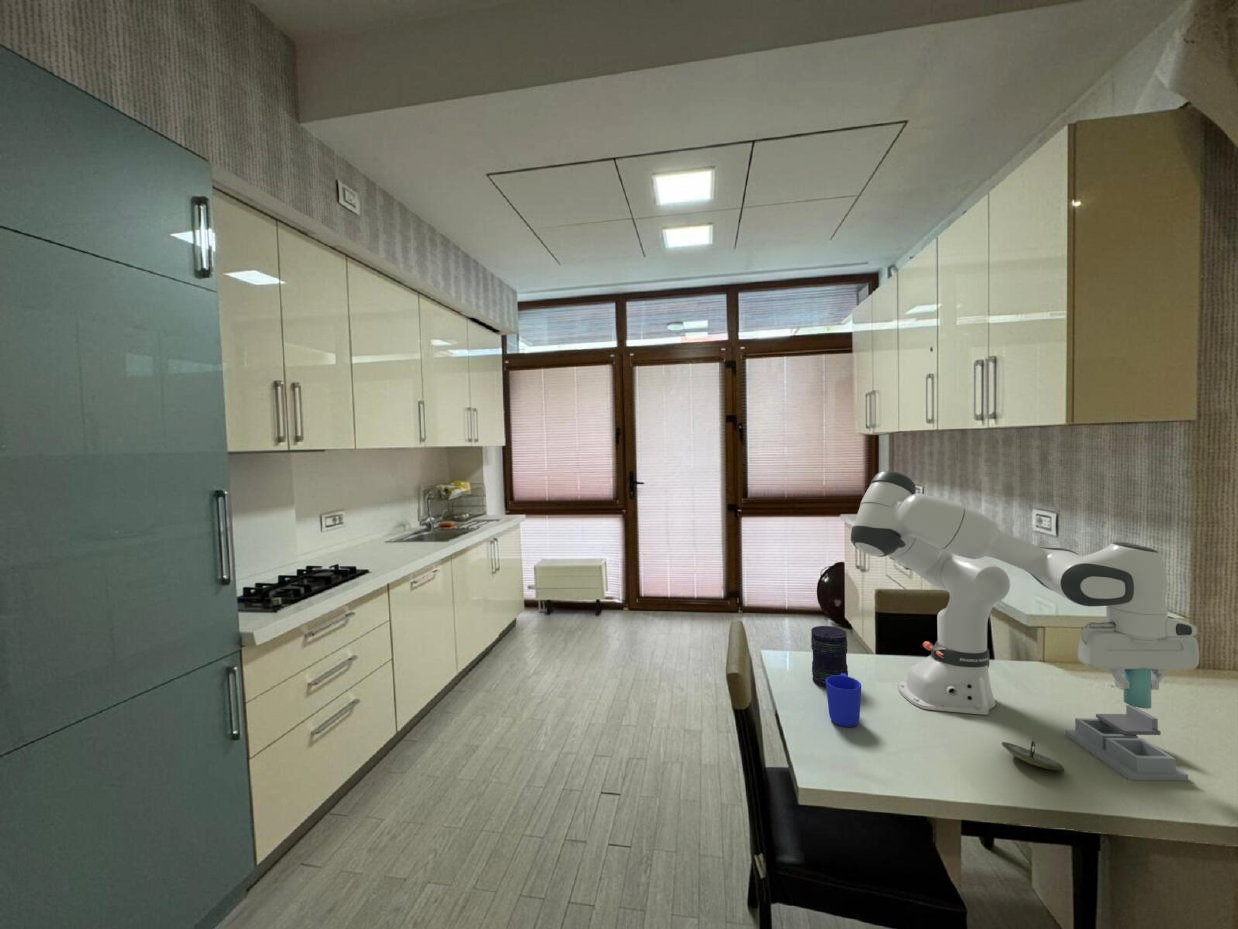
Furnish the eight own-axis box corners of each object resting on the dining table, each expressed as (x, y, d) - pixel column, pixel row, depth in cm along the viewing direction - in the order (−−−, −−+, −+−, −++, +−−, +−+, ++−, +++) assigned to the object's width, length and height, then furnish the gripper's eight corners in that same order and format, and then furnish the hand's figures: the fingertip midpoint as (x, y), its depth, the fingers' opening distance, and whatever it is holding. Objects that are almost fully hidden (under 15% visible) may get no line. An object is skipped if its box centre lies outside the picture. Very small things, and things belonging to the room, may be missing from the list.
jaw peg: (1135, 708, 102) (1135, 669, 102) (1118, 698, 106) (1117, 661, 106) (1157, 708, 102) (1156, 669, 102) (1139, 699, 106) (1138, 661, 106)
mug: (861, 709, 132) (860, 671, 132) (862, 733, 121) (861, 692, 121) (827, 703, 136) (827, 667, 135) (825, 726, 125) (824, 686, 124)
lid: (991, 759, 110) (991, 736, 110) (1017, 746, 114) (1017, 724, 114) (1049, 787, 100) (1048, 763, 100) (1075, 772, 104) (1075, 749, 104)
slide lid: (1160, 735, 109) (1160, 720, 109) (1124, 734, 109) (1124, 720, 109) (1129, 717, 116) (1129, 703, 116) (1095, 717, 117) (1095, 703, 116)
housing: (1188, 780, 101) (1188, 760, 101) (1129, 779, 102) (1128, 759, 102) (1116, 735, 117) (1115, 717, 117) (1065, 735, 118) (1065, 717, 117)
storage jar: (817, 671, 155) (815, 623, 155) (851, 679, 149) (850, 629, 149) (808, 684, 147) (806, 633, 147) (844, 693, 141) (842, 640, 141)
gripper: (1094, 627, 102) (1095, 695, 102) (1206, 627, 100) (1207, 696, 100) (1069, 617, 108) (1070, 681, 108) (1174, 616, 106) (1175, 681, 106)
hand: (1136, 688), depth 104 cm, fingers closed on jaw peg, 4 cm apart
